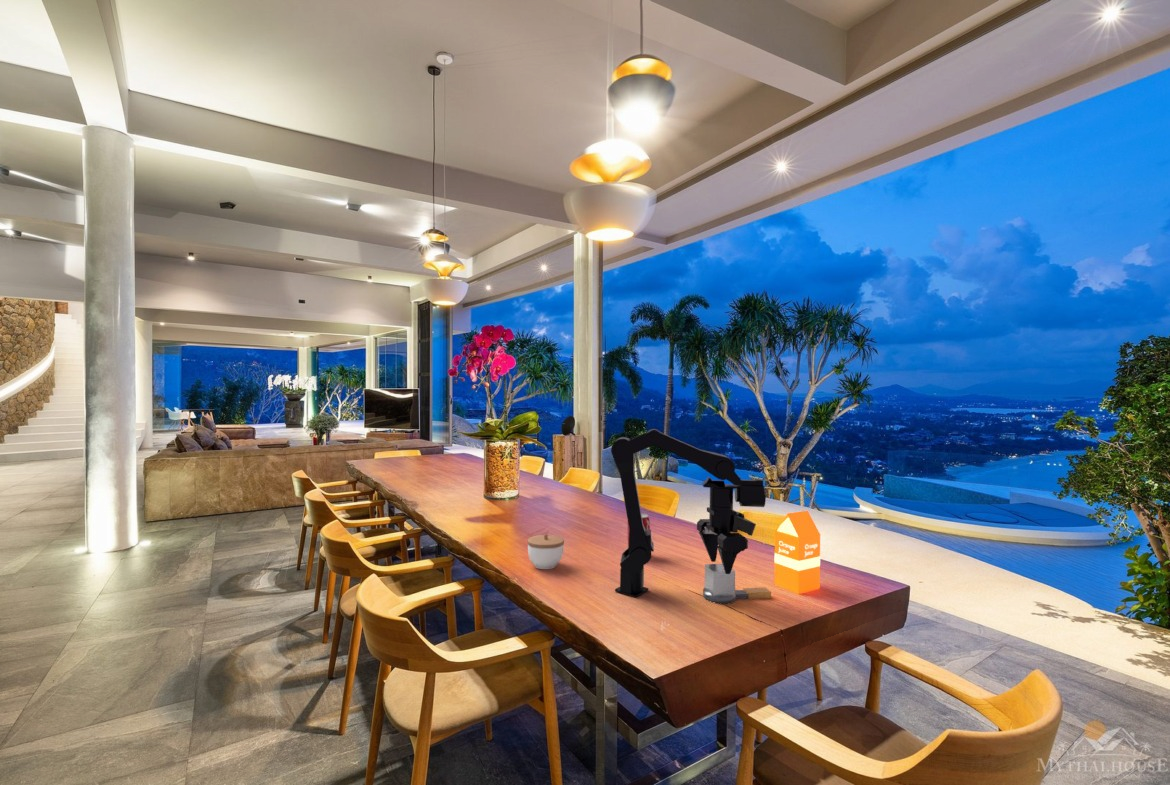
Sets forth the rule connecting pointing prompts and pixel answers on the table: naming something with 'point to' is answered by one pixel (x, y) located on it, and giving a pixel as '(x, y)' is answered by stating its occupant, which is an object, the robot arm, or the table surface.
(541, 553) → the lidded jar
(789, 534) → the orange juice
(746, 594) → the ratchet
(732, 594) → the white metal cube
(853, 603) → the table surface
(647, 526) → the soda can
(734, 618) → the table surface
